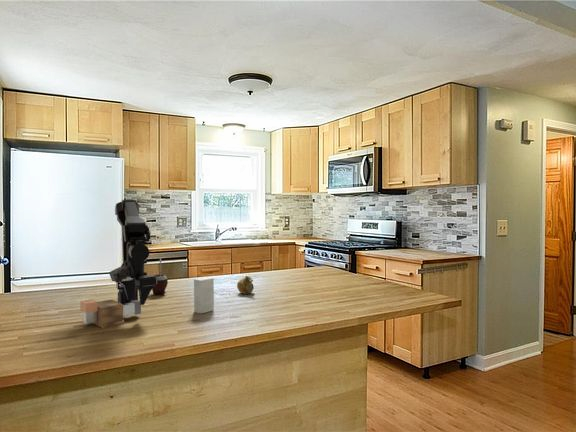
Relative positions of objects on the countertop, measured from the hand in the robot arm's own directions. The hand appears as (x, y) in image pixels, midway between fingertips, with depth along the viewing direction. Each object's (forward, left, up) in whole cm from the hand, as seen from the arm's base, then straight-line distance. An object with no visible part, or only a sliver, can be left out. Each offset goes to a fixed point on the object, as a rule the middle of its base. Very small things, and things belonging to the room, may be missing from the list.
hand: (135, 302), depth 140 cm
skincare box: (-20, +11, -5) cm, 24 cm away
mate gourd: (-23, -26, -5) cm, 35 cm away
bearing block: (+10, 0, -5) cm, 11 cm away
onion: (-50, 0, -5) cm, 51 cm away
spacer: (+16, 0, 0) cm, 16 cm away
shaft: (+8, 0, -4) cm, 9 cm away
